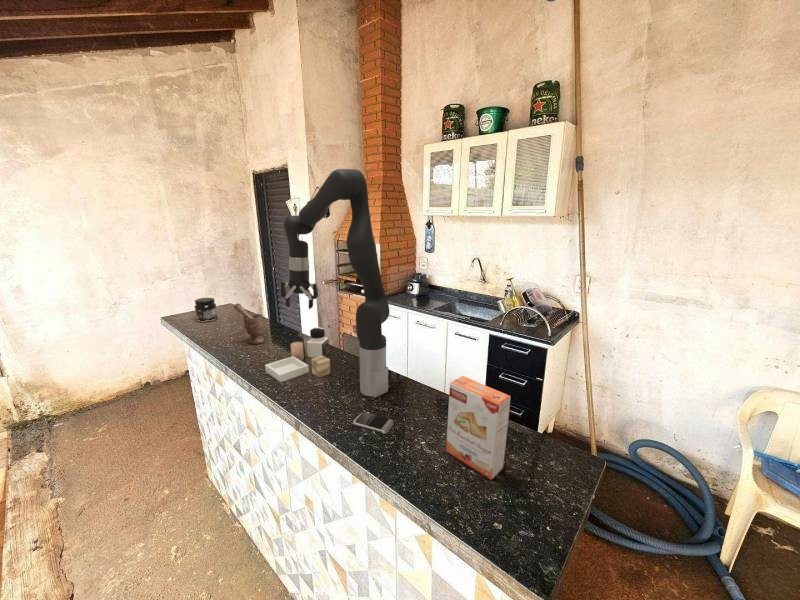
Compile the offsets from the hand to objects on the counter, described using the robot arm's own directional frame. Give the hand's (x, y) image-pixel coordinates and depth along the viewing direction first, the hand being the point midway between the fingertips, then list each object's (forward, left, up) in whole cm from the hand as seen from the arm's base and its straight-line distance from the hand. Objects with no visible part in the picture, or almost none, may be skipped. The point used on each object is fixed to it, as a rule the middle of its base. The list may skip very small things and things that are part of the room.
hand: (299, 307), depth 139 cm
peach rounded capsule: (+4, 0, -24) cm, 24 cm away
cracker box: (-83, -1, -24) cm, 87 cm away
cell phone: (-53, +7, -24) cm, 59 cm away
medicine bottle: (+2, -9, -24) cm, 25 cm away
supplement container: (+87, +10, -24) cm, 91 cm away
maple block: (-14, 0, -24) cm, 28 cm away
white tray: (-4, +9, -24) cm, 26 cm away
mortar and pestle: (+35, +6, -24) cm, 43 cm away
